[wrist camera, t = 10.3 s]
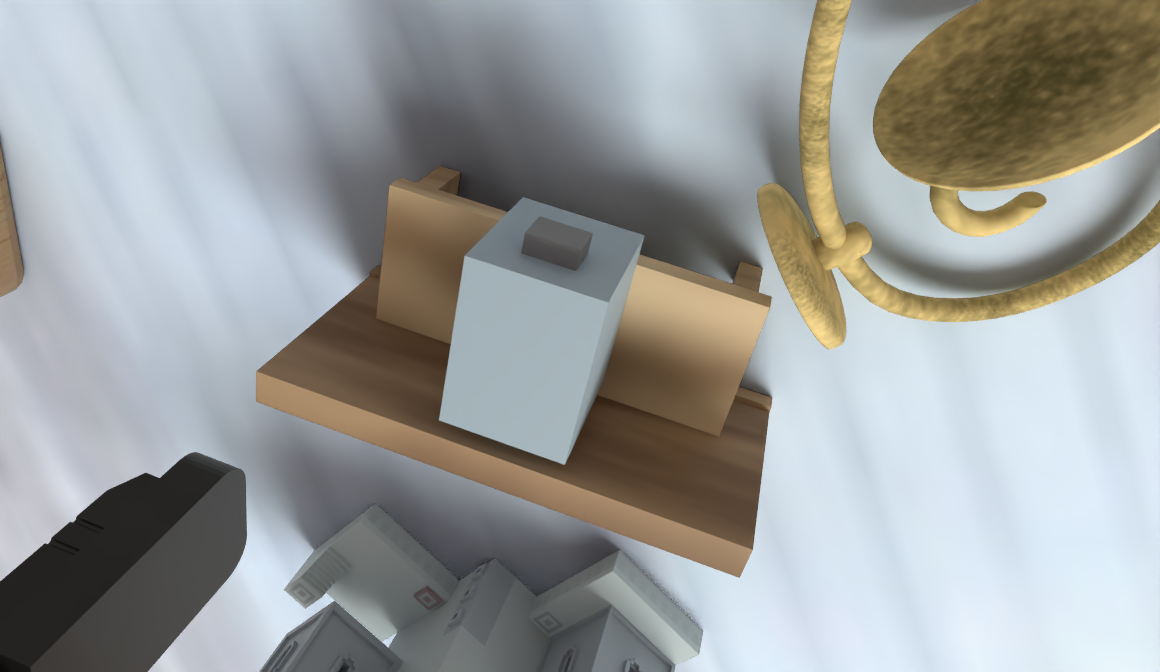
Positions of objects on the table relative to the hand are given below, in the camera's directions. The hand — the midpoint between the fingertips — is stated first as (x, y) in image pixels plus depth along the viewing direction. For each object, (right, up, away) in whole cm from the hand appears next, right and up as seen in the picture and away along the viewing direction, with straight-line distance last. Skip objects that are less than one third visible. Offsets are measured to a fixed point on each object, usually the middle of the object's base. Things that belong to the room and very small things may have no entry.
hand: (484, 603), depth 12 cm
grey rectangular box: (+1, +6, +22) cm, 22 cm away
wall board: (+1, +5, +27) cm, 27 cm away
